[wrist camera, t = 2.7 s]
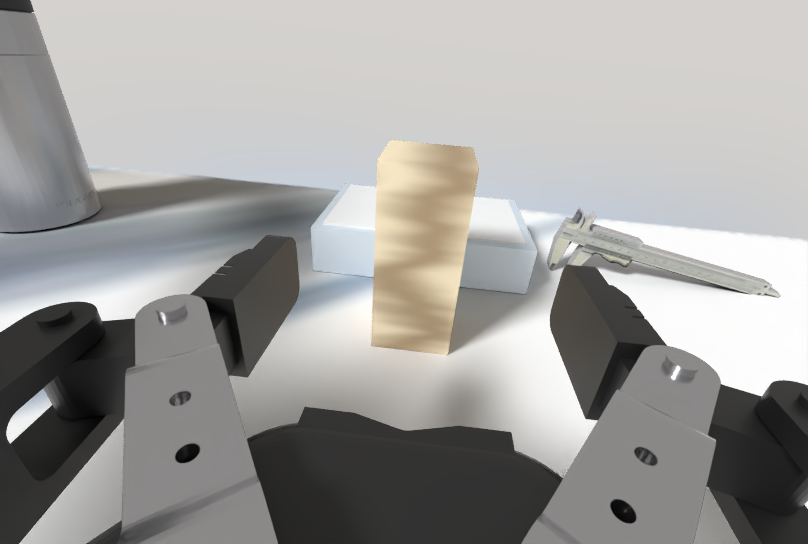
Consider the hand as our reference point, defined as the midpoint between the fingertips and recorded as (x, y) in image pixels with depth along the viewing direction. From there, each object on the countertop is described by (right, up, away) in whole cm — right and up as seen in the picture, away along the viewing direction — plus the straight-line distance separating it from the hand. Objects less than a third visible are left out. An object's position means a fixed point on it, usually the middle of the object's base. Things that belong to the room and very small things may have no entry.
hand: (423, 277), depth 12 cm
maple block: (0, -4, +15) cm, 16 cm away
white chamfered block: (+1, +2, +26) cm, 26 cm away
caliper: (+23, -1, +24) cm, 33 cm away
